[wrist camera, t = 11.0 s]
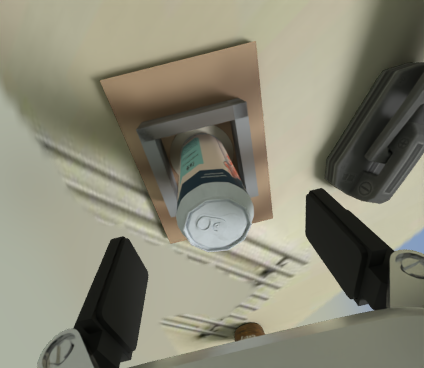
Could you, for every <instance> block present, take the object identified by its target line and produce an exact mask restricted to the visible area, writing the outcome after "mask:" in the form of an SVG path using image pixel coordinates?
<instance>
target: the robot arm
mask: <svg viewBox="0 0 424 368" xmlns="http://www.w3.org/2000/svg"><path fill="white" fill-rule="evenodd" d="M305 232H306V237H307V239H308V240H309V242H310V243H311V245H312V246H313V248H314V249H315V250H316V252H317V253H318V255H319V256H320V258H321V259H322V260H323V262H324V263H325V265H326V266H327V268H328V269H329V271H330V272H331V273H332V275H333V276H334V278H335V279H336V281H337V282H338V283H339V285H340V286H341V288H342V289H343V291H344V292H345V293H346V295H347V296H348V297H349V298H350V299H354V301H355V302H356V303H357V305H358V306H361V305H365V304H369V305H370V307H371V308H372V309H373V310H374V311H369V312H365V313H359V314H355V315H350V316H345V317H340V318H335V319H331V320H326V321H323V322H318V323H314V324H309V325H305V326H301V327H296V328H292V329H287V330H283V331H279V332H274V333H270V334H266V335H261V336H257V337H253V338H249V339H244V340H240V341H236V342H232V343H227V344H223V345H219V346H215V347H211V348H206V349H202V350H198V351H194V352H190V353H186V354H181V355H177V356H174V357H169V358H165V359H161V360H157V361H153V362H149V363H145V364H141V365H137V366H133V367H129V368H424V254H422V253H419V252H417V251H413V250H398V251H394V250H392V249H391V248H390V247H389V246H388V245H387V244H386V243H385V242H384V241H382V240H381V239H380V238H379V237H378V236H377V235H376V234H375V233H374V232H372V231H371V230H370V229H369V228H368V227H367V226H366V225H365V224H364V223H362V222H361V221H360V220H359V219H358V218H357V217H356V216H355V215H354V214H352V213H351V212H350V211H349V210H346V209H345V208H344V207H343V206H341V205H340V204H339V203H338V202H337V201H336V200H335V199H334V198H333V197H332V196H330V195H329V194H328V193H327V192H326V191H325V190H324V189H322V188H320V189H315V190H311V191H310V192H309V194H307V195H306V230H305ZM147 282H148V271H147V269H146V268H145V266H144V264H143V263H142V261H141V259H140V257H139V256H138V254H137V252H136V250H135V249H134V247H133V245H132V244H131V242H130V240H129V239H128V238H125V237H119V238H114V239H112V240H111V241H110V243H109V245H108V247H107V250H106V252H105V255H104V257H103V259H102V262H101V264H100V267H99V269H98V272H97V273H96V276H95V278H94V281H93V283H92V285H91V288H90V290H89V292H88V295H87V297H86V300H85V302H84V305H83V307H82V309H81V311H80V314H79V316H78V319H77V321H76V323H75V326H74V328H73V329H67V330H65V331H62V332H61V333H59V334H58V335H56V336H55V337H54V338H53V339H52V340H51V341H50V342H49V343H48V344H47V345H46V347H45V348H44V349H43V351H42V353H41V355H40V357H39V360H38V363H37V368H119V365H120V362H124V361H128V360H131V357H132V352H133V351H134V350H135V349H136V346H137V340H138V335H139V328H140V323H141V317H142V311H143V305H144V300H145V294H146V288H147Z"/></svg>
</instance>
